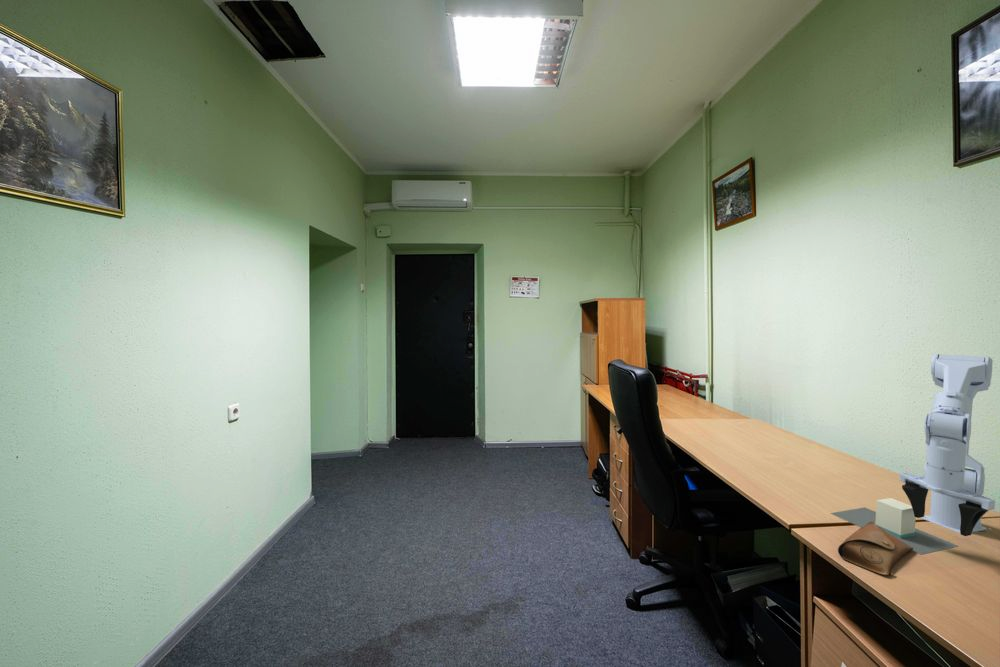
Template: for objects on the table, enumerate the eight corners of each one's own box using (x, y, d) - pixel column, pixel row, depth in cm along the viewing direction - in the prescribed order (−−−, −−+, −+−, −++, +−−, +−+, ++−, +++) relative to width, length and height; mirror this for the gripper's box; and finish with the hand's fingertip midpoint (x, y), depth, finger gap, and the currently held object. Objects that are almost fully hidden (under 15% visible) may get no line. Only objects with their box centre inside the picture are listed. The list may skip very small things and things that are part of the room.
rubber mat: (864, 508, 106) (864, 507, 106) (958, 547, 88) (958, 546, 88) (830, 514, 103) (830, 513, 103) (920, 556, 85) (920, 554, 85)
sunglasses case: (890, 576, 77) (868, 541, 80) (851, 577, 82) (832, 543, 85) (915, 548, 86) (895, 516, 89) (878, 549, 92) (860, 520, 94)
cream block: (889, 524, 97) (890, 498, 97) (914, 535, 92) (916, 507, 92) (875, 527, 96) (876, 500, 96) (900, 538, 91) (901, 510, 91)
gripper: (892, 456, 91) (889, 511, 92) (981, 482, 77) (977, 546, 78) (912, 454, 93) (909, 508, 94) (1002, 478, 79) (998, 541, 80)
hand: (941, 525), depth 86 cm, fingers open, 7 cm apart
